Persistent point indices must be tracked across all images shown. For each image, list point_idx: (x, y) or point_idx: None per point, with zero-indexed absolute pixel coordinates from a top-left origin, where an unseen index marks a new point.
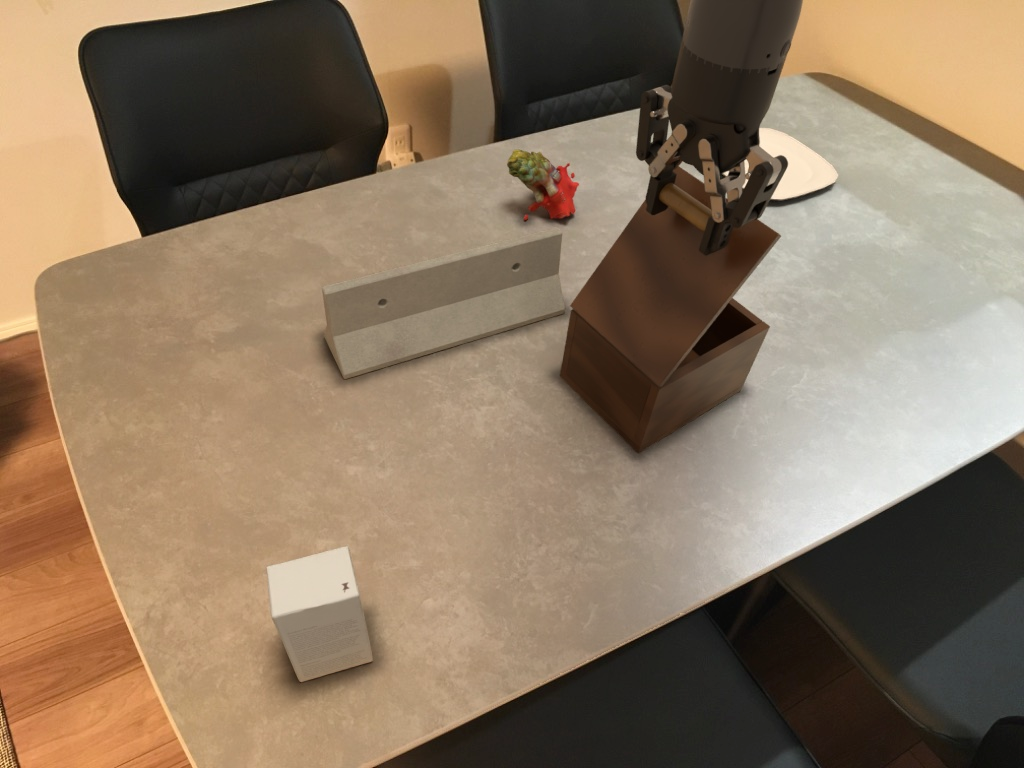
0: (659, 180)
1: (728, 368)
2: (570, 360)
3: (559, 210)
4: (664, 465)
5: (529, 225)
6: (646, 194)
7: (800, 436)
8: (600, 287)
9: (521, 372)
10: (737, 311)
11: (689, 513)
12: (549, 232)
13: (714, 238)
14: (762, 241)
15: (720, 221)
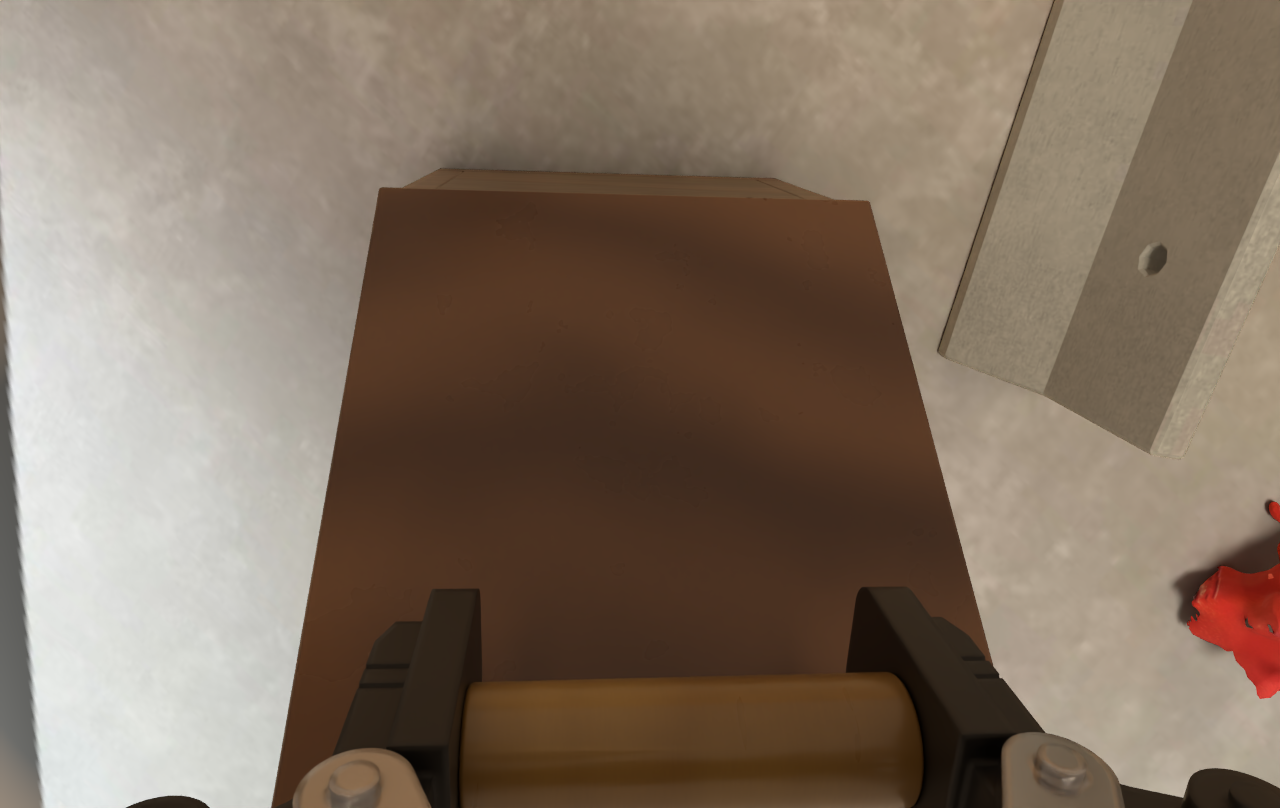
0: (966, 745)
1: None
2: (765, 185)
3: (1226, 592)
4: (371, 201)
5: (1246, 501)
6: (977, 648)
7: (268, 553)
8: (829, 297)
9: (853, 92)
10: None
11: (214, 142)
12: (1184, 416)
13: (397, 679)
14: None
15: (321, 770)
